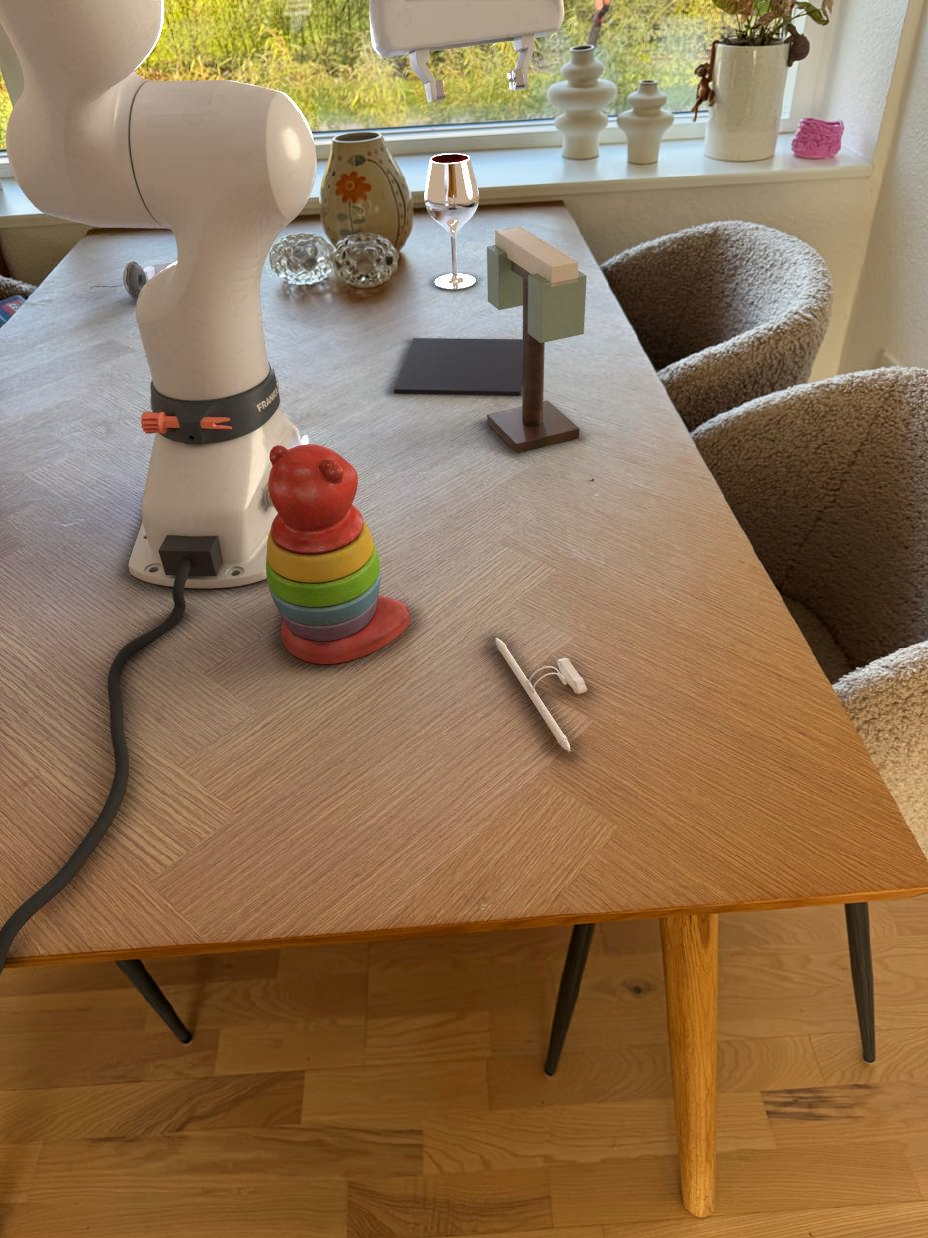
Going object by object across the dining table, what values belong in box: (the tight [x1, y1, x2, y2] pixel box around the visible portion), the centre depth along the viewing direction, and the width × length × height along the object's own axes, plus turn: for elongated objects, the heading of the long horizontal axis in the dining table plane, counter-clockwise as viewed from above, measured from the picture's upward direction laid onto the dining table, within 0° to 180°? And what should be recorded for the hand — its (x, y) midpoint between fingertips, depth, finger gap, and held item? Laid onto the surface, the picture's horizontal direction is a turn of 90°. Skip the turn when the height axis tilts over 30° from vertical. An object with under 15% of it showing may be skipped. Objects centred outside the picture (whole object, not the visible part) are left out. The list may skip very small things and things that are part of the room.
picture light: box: [494, 637, 588, 753], centre depth 74 cm, size 14×4×2 cm, turn 21°
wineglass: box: [423, 153, 480, 291], centre depth 140 cm, size 8×8×18 cm
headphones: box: [89, 260, 174, 301], centre depth 145 cm, size 17×6×20 cm
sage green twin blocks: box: [486, 225, 588, 343], centre depth 97 cm, size 5×13×8 cm, turn 23°
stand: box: [486, 261, 581, 454], centre depth 101 cm, size 8×8×19 cm
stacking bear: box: [266, 443, 411, 665], centre depth 75 cm, size 11×10×18 cm
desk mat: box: [393, 337, 523, 396], centre depth 121 cm, size 16×16×1 cm
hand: (478, 95), depth 96 cm, fingers open, 8 cm apart
